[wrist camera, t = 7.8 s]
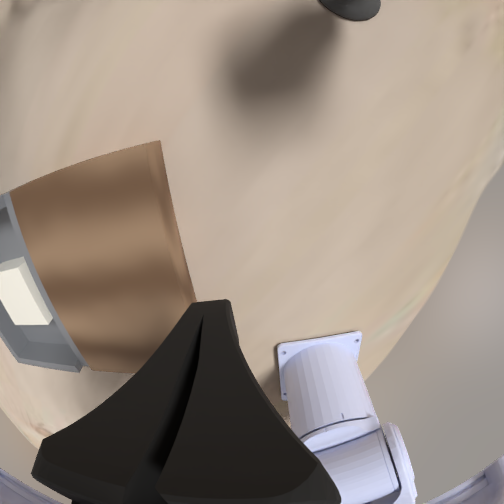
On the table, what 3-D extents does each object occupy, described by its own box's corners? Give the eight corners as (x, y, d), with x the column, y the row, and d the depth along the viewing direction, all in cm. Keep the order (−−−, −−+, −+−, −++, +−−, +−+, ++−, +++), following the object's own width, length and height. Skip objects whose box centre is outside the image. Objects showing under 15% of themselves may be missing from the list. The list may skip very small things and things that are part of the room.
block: (60, 308, 22) (48, 324, 19) (26, 310, 22) (15, 324, 20) (33, 253, 19) (18, 267, 17) (1, 262, 19) (-13, 275, 17)
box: (97, 349, 25) (86, 373, 21) (30, 343, 25) (18, 362, 22) (28, 182, 16) (1, 195, 13) (-31, 211, 17) (-52, 224, 14)
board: (210, 348, 24) (208, 372, 22) (101, 349, 25) (92, 370, 22) (160, 140, 16) (144, 144, 13) (31, 180, 16) (9, 191, 14)
